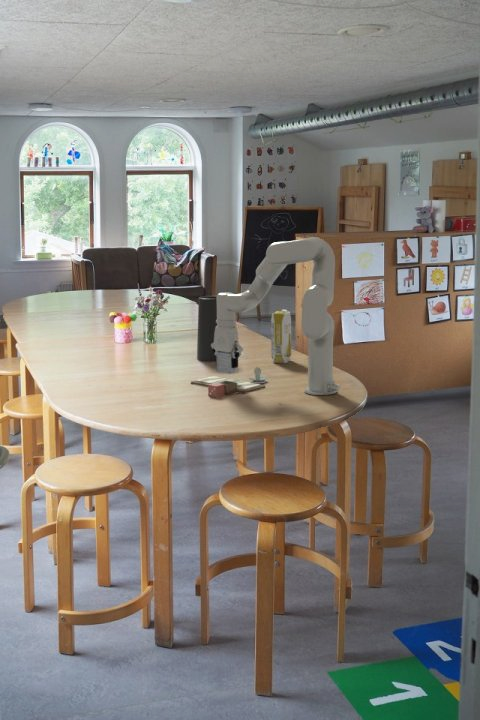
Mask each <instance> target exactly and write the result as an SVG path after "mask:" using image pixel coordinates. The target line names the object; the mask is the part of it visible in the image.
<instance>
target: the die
mask: <svg viewBox="0 0 480 720" xmlns="http://www.w3.org/2000/svg"><path fill="white" fill-rule="evenodd" d="M207 388H208V391H207V393H208V395H207V396H208V397H212V398H213V397H214V398H219V397H223V396H226V395H225V384H220V383H213V384H209V385H208V387H207Z"/></svg>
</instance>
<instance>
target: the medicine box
mask: <svg viewBox="0 0 480 720" xmlns="http://www.w3.org/2000/svg"><path fill="white" fill-rule="evenodd" d="M234 354H235V352H234ZM216 356H217V365H216V372H218V373H223V374H229V375H234V374H238V372H239V366H238V367H236V368H232V358H233V357H232V353H227V352H220V351H217V352H216Z"/></svg>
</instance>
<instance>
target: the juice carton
mask: <svg viewBox="0 0 480 720" xmlns="http://www.w3.org/2000/svg"><path fill="white" fill-rule="evenodd" d="M270 327H271V328H270V329H271V330H270V331H271V332H270V335H271V336H270V337H271V338H270V341H271V345H270V347H271V348H270V349H271V359H272V363H274V364H287V363H288V362H289V361H291V358H292V317H291V312H290V311H288V310H287V309H281V310H277V311H275V312H273V313H272V314H271V321H270Z"/></svg>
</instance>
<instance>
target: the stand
mask: <svg viewBox="0 0 480 720" xmlns="http://www.w3.org/2000/svg"><path fill="white" fill-rule="evenodd" d="M219 383H220V384H225V395H224V396H230V395H234V394H237V393H238V392H237V383H235V382H230V381H223V382H219Z"/></svg>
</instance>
